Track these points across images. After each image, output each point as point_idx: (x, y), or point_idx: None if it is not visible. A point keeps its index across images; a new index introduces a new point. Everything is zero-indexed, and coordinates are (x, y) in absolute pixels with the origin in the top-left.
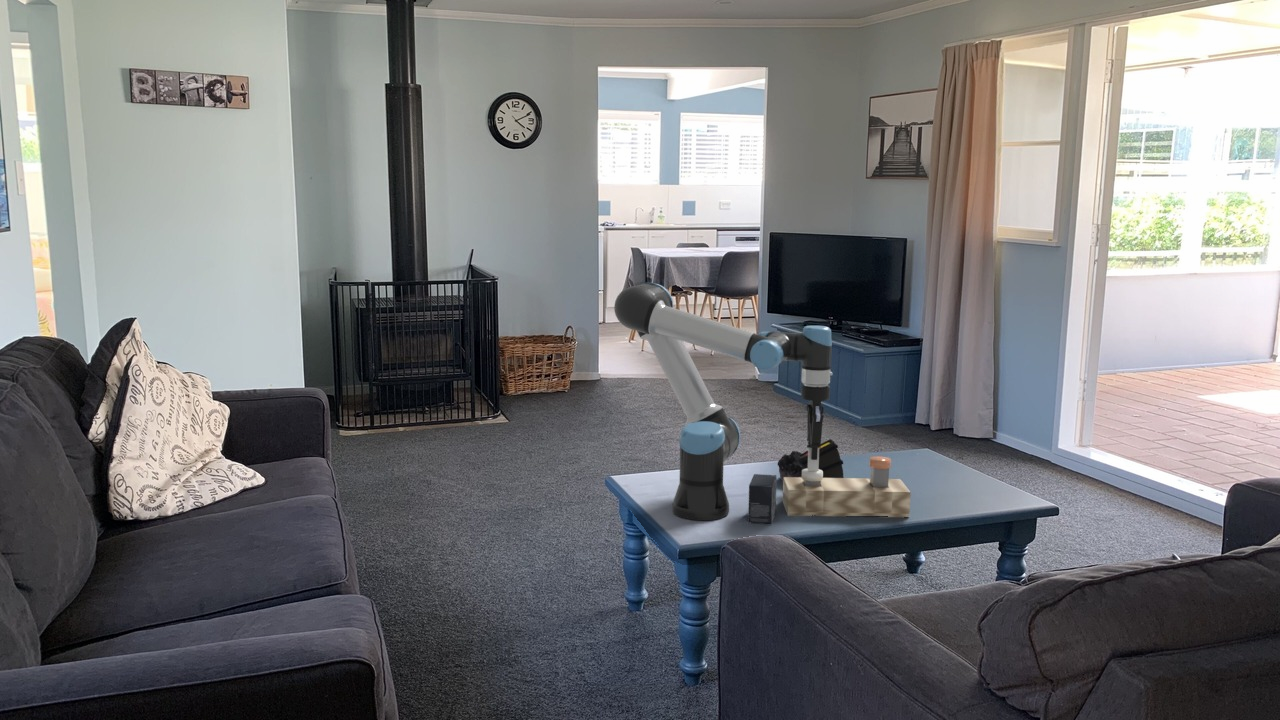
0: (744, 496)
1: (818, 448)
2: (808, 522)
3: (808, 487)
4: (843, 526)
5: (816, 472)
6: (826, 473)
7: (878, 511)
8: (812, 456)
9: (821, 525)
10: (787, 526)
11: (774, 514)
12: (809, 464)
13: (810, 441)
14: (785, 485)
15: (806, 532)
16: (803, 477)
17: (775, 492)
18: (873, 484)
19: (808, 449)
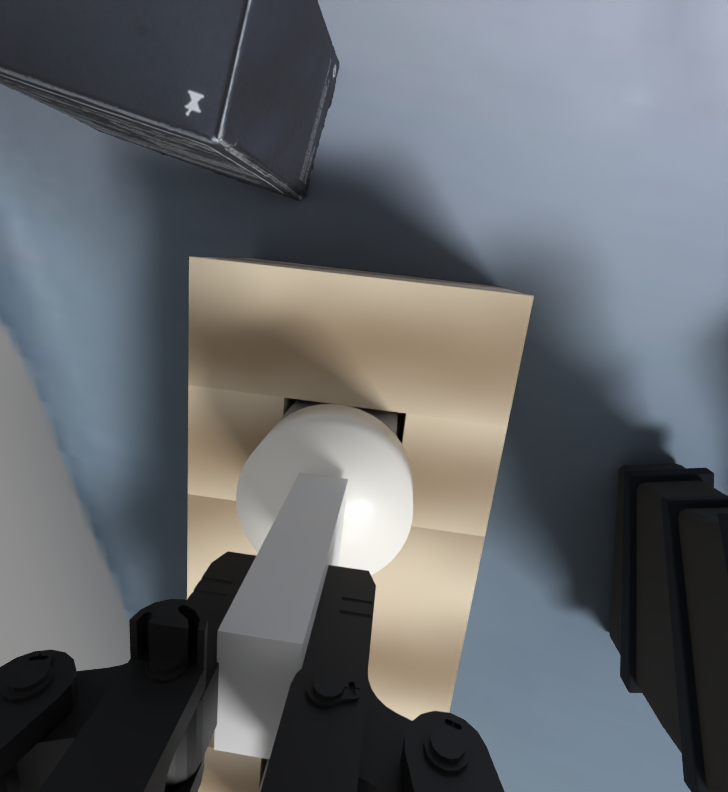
0: (643, 46)
1: (216, 728)
2: (151, 340)
3: (254, 416)
4: (109, 481)
5: None
6: (666, 630)
7: None
8: (204, 580)
9: (114, 390)
10: (83, 216)
11: (209, 169)
12: (282, 508)
13: (85, 732)
14: (381, 277)
15: (9, 293)
16: (299, 412)
17: (201, 154)
18: (263, 777)
19: (286, 606)
